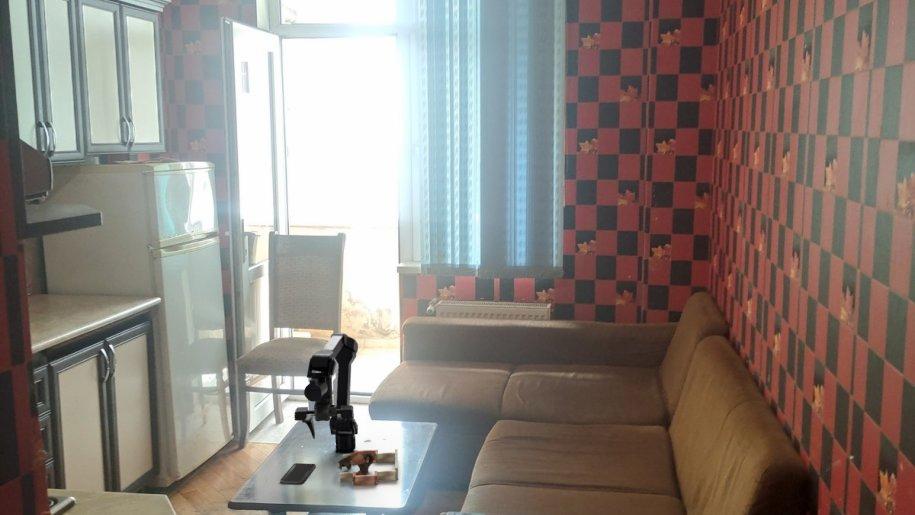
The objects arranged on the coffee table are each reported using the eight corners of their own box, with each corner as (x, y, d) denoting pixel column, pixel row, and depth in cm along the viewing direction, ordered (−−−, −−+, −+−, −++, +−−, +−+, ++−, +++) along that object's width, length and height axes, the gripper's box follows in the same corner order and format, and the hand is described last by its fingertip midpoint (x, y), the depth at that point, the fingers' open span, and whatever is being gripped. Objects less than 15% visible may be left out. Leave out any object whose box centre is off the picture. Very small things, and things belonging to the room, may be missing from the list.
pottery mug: (351, 484, 264) (340, 460, 264) (342, 486, 272) (331, 464, 272) (382, 466, 270) (371, 443, 271) (373, 469, 278) (362, 447, 279)
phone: (279, 481, 263) (294, 462, 278) (279, 484, 264) (294, 466, 278) (302, 482, 262) (317, 463, 277) (303, 485, 263) (317, 467, 277)
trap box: (339, 486, 260) (339, 474, 260) (343, 459, 282) (343, 448, 282) (398, 483, 262) (397, 471, 261) (397, 457, 284) (397, 446, 283)
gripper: (291, 400, 259) (293, 448, 261) (351, 398, 260) (352, 445, 262) (295, 390, 270) (297, 436, 272) (352, 388, 271) (354, 433, 273)
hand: (325, 438), depth 269 cm, fingers open, 7 cm apart
